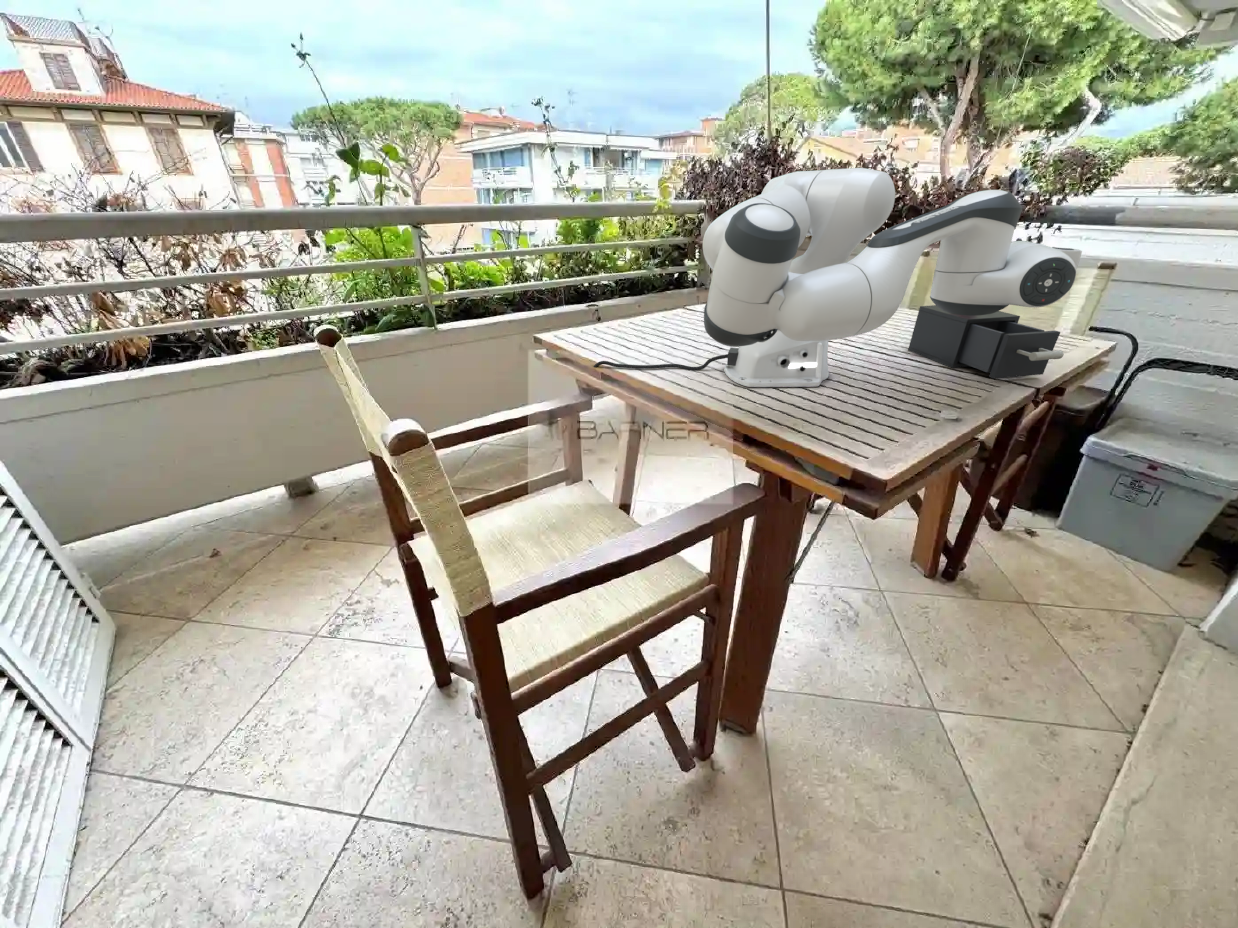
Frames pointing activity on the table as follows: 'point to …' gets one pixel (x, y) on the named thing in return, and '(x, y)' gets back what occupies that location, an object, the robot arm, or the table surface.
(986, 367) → the drawer
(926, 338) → the cabinet
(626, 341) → the table surface
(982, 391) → the table surface
